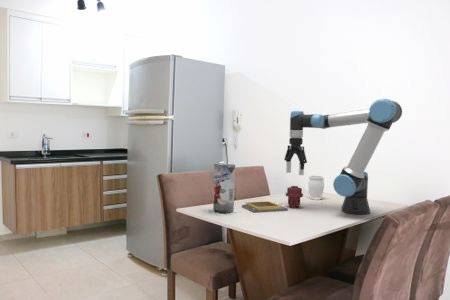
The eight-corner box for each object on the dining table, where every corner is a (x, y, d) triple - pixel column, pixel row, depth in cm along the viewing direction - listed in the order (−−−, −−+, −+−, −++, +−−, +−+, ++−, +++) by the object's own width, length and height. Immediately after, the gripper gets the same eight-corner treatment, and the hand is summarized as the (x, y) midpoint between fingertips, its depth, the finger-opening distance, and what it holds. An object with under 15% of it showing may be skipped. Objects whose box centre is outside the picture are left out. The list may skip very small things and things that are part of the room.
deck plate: (287, 210, 207) (288, 205, 207) (254, 212, 199) (254, 207, 199) (273, 205, 222) (273, 200, 222) (241, 207, 214) (241, 202, 214)
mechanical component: (302, 206, 222) (302, 209, 212) (285, 205, 224) (284, 208, 214) (303, 185, 221) (303, 187, 212) (286, 184, 223) (285, 187, 214)
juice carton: (222, 209, 207) (223, 160, 206) (236, 212, 200) (237, 162, 199) (210, 211, 201) (211, 161, 200) (224, 214, 193) (225, 162, 192)
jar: (325, 200, 245) (326, 177, 244) (309, 199, 245) (310, 177, 244) (321, 197, 255) (322, 175, 255) (306, 197, 255) (307, 175, 255)
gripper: (279, 137, 227) (278, 171, 228) (302, 137, 203) (301, 176, 204) (290, 137, 229) (288, 171, 230) (314, 138, 206) (312, 176, 207)
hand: (294, 173), depth 217 cm, fingers open, 13 cm apart
